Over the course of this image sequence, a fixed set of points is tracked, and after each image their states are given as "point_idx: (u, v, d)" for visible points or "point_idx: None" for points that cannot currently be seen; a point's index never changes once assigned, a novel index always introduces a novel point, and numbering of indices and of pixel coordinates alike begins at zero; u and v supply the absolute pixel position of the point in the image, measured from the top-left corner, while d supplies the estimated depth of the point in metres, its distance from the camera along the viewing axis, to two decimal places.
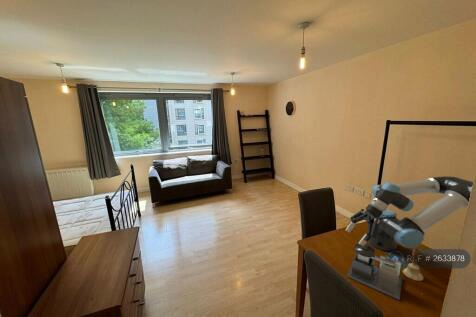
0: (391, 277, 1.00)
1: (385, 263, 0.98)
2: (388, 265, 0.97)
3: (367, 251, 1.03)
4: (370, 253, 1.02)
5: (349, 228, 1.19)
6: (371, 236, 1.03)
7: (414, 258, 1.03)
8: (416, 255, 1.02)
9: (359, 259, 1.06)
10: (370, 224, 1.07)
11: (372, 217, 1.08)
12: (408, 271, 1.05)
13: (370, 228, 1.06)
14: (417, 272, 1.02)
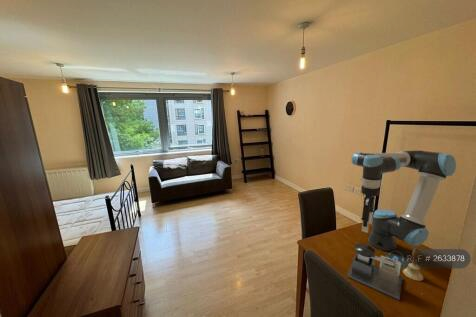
0: (391, 277, 1.00)
1: (385, 263, 0.98)
2: (388, 265, 0.97)
3: (367, 251, 1.03)
4: (370, 253, 1.02)
5: None
6: (363, 220, 0.96)
7: (414, 258, 1.03)
8: (416, 255, 1.02)
9: (359, 259, 1.06)
10: None
11: (365, 198, 0.98)
12: (408, 271, 1.05)
13: None
14: (417, 272, 1.02)
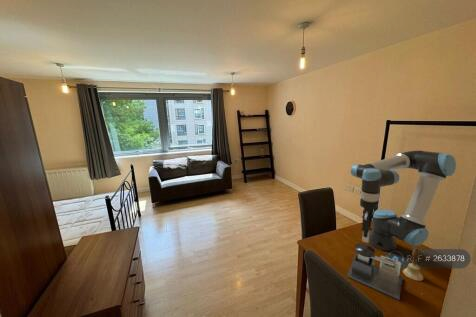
0: (391, 277, 1.00)
1: (385, 263, 0.98)
2: (388, 265, 0.97)
3: (367, 251, 1.03)
4: (370, 253, 1.02)
5: None
6: (364, 231, 1.01)
7: (414, 258, 1.03)
8: (416, 255, 1.02)
9: (359, 259, 1.06)
10: None
11: (364, 211, 0.99)
12: (408, 271, 1.05)
13: None
14: (417, 272, 1.02)
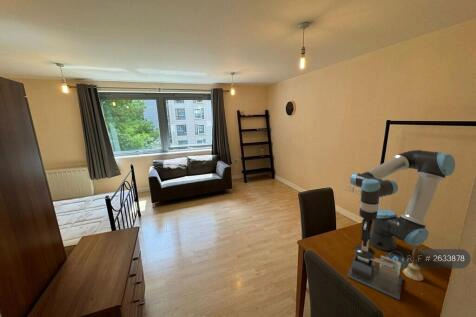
0: (391, 277, 1.00)
1: None
2: (388, 266, 0.97)
3: (367, 253, 1.03)
4: (370, 255, 1.02)
5: None
6: (363, 240, 1.02)
7: (414, 258, 1.03)
8: (416, 255, 1.02)
9: (359, 261, 1.06)
10: None
11: (363, 221, 1.00)
12: (408, 271, 1.05)
13: None
14: (417, 272, 1.02)
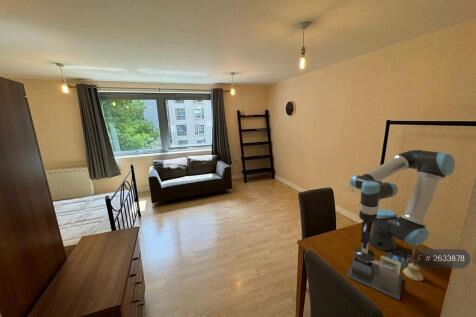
0: (391, 277, 1.00)
1: None
2: None
3: (367, 255, 1.04)
4: (370, 257, 1.02)
5: None
6: (363, 242, 1.02)
7: (414, 258, 1.03)
8: (416, 255, 1.02)
9: None
10: None
11: (363, 224, 1.00)
12: (408, 271, 1.05)
13: None
14: (417, 272, 1.02)
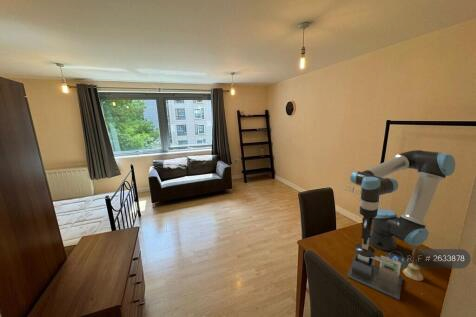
0: (391, 277, 1.00)
1: (385, 266, 0.99)
2: (388, 268, 0.97)
3: (367, 251, 1.03)
4: (370, 253, 1.02)
5: None
6: (363, 238, 1.02)
7: (414, 258, 1.03)
8: (416, 255, 1.02)
9: (359, 259, 1.06)
10: None
11: (363, 219, 1.00)
12: (408, 271, 1.05)
13: None
14: (417, 272, 1.02)
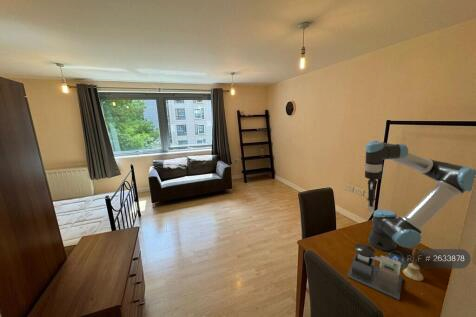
0: (391, 277, 1.00)
1: (385, 266, 0.99)
2: (388, 268, 0.97)
3: (367, 251, 1.03)
4: (370, 253, 1.02)
5: None
6: (370, 200, 1.08)
7: (414, 258, 1.03)
8: (416, 255, 1.02)
9: (359, 259, 1.06)
10: None
11: None
12: (408, 271, 1.05)
13: None
14: (417, 272, 1.02)
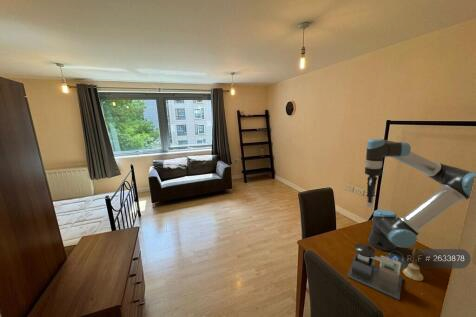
0: (391, 277, 1.00)
1: (385, 266, 0.99)
2: (388, 268, 0.97)
3: (367, 251, 1.03)
4: (370, 253, 1.02)
5: None
6: (368, 196, 1.10)
7: (414, 258, 1.03)
8: (416, 255, 1.02)
9: (359, 259, 1.06)
10: None
11: (368, 178, 1.09)
12: (408, 271, 1.05)
13: None
14: (417, 272, 1.02)
